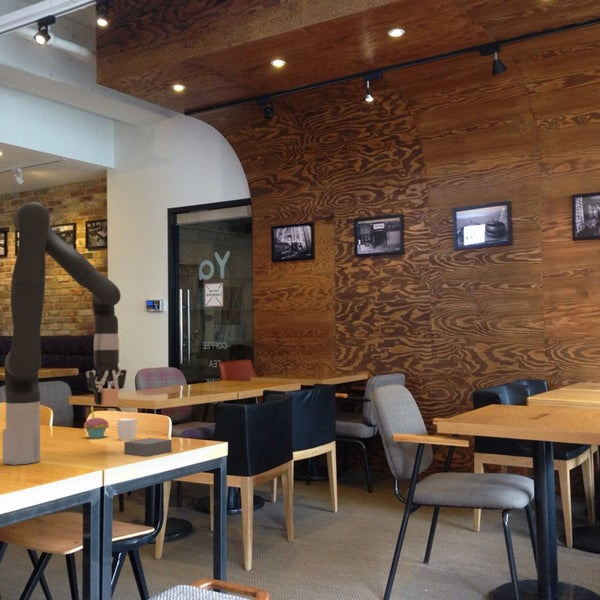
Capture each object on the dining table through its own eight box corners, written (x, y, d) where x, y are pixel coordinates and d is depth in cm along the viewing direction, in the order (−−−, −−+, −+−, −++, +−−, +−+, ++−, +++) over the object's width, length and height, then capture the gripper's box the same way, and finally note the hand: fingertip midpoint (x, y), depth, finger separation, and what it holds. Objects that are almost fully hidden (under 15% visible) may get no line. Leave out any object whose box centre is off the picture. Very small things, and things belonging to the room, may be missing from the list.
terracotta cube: (104, 406, 209) (104, 389, 210) (94, 405, 213) (94, 389, 213) (118, 405, 213) (118, 388, 214) (108, 404, 216) (108, 388, 217)
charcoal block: (147, 458, 204) (146, 444, 204) (124, 455, 210) (124, 442, 210) (171, 453, 212) (171, 439, 212) (149, 450, 218) (149, 437, 218)
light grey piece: (132, 440, 239) (131, 420, 239) (113, 440, 240) (113, 420, 240) (140, 437, 245) (140, 418, 246) (122, 437, 247) (122, 418, 247)
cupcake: (95, 439, 243) (95, 405, 244) (78, 438, 247) (78, 404, 248) (113, 436, 251) (113, 403, 251) (96, 435, 255) (96, 402, 255)
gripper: (93, 348, 206) (93, 406, 205) (132, 348, 217) (132, 402, 216) (79, 349, 211) (78, 405, 210) (118, 348, 222) (118, 401, 221)
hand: (106, 403), depth 213 cm, fingers closed on terracotta cube, 5 cm apart
